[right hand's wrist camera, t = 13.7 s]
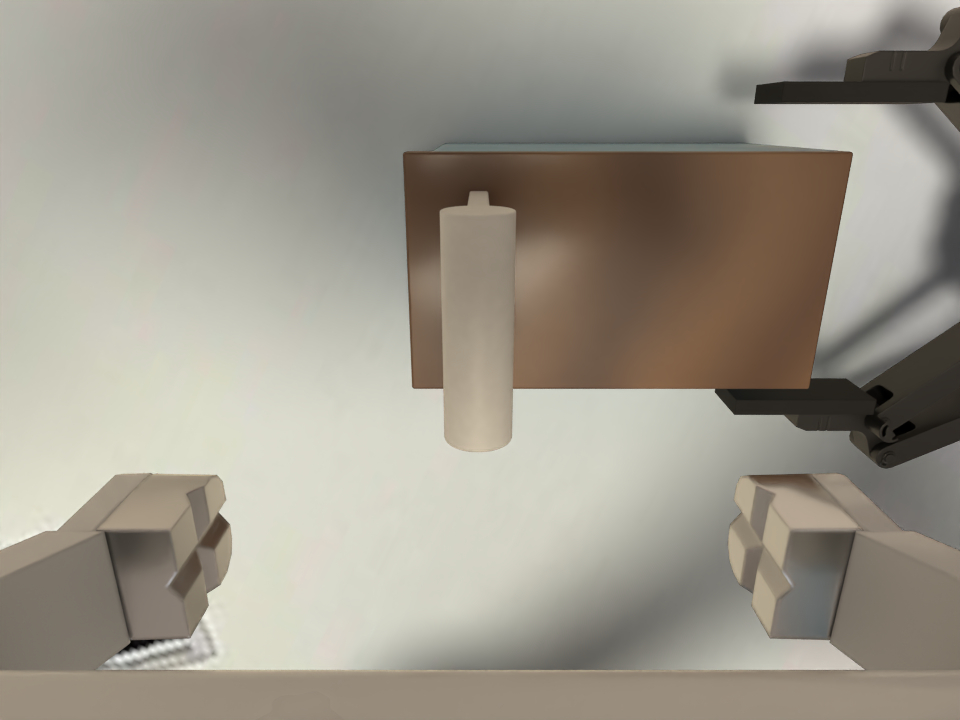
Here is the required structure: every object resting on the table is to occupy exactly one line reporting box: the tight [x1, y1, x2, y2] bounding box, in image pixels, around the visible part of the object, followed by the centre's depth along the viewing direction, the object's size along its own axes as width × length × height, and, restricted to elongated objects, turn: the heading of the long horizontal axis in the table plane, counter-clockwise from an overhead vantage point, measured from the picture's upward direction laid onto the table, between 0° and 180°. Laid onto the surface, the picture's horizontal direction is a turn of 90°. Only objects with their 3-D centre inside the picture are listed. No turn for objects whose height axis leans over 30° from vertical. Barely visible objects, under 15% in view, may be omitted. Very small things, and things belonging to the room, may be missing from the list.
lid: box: [403, 151, 853, 452], centre depth 22 cm, size 17×10×9 cm, turn 90°
